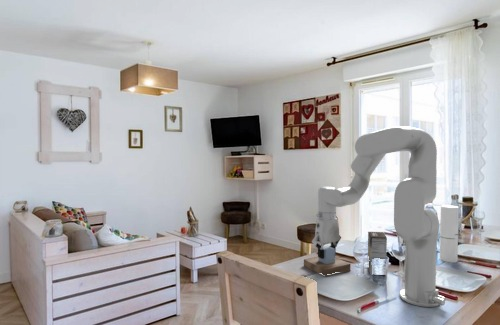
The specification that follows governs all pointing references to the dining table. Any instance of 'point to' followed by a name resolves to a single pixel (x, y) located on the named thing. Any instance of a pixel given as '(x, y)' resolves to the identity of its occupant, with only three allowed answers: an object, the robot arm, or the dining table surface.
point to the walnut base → (326, 266)
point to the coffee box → (376, 247)
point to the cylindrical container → (449, 233)
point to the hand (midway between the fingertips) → (326, 256)
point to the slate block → (328, 255)
